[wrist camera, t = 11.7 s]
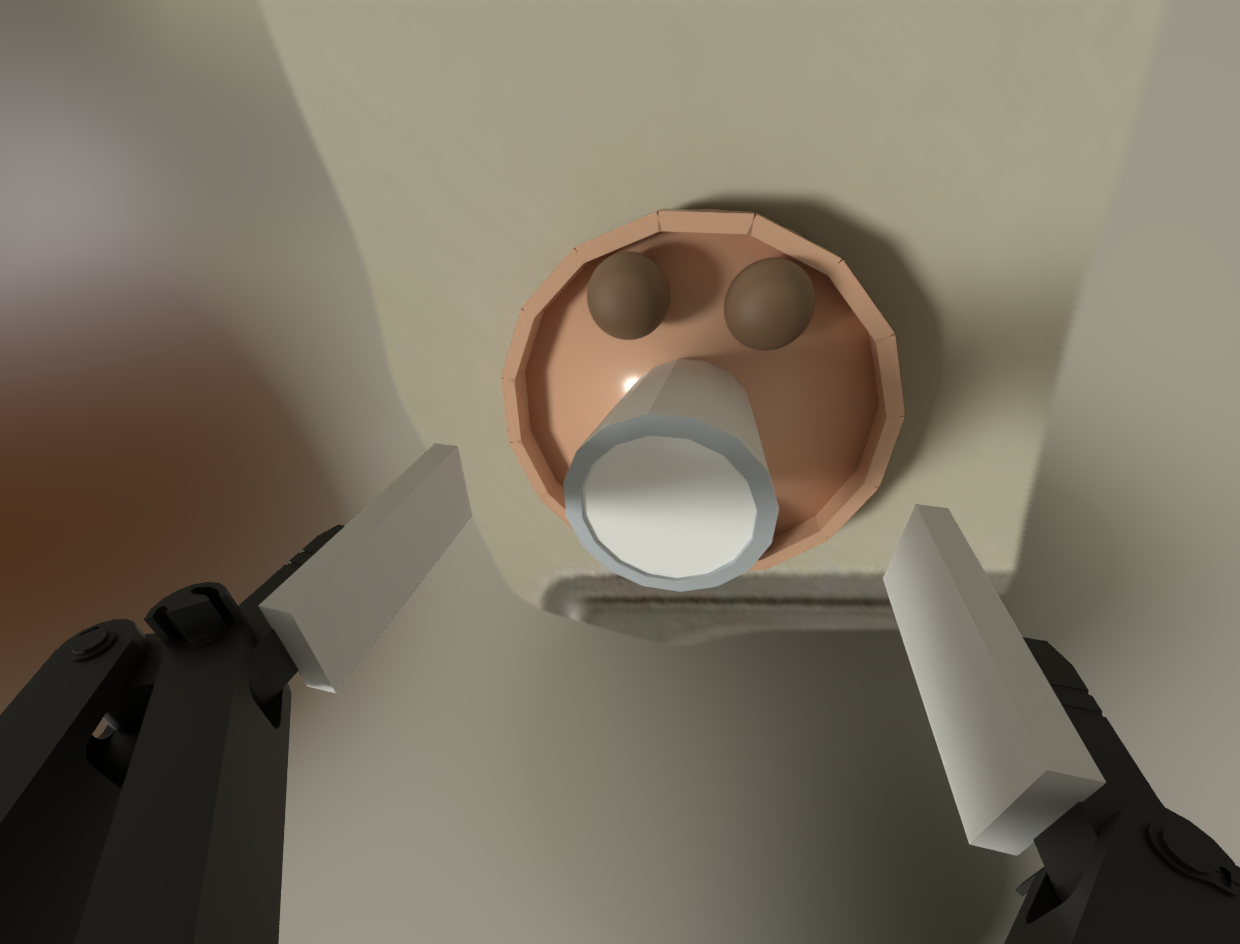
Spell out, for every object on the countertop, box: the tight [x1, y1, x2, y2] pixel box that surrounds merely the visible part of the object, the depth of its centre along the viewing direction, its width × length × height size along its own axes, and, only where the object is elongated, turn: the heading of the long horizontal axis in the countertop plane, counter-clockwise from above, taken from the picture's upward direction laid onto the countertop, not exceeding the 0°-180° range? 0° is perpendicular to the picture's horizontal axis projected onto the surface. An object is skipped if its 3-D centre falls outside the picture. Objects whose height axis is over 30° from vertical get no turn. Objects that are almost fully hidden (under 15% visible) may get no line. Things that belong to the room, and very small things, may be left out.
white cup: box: [563, 359, 779, 592], centre depth 18 cm, size 7×7×7 cm
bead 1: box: [587, 251, 670, 340], centre depth 17 cm, size 3×3×3 cm
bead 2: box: [724, 258, 815, 351], centre depth 16 cm, size 3×3×3 cm
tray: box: [501, 209, 905, 572], centre depth 21 cm, size 16×16×2 cm
